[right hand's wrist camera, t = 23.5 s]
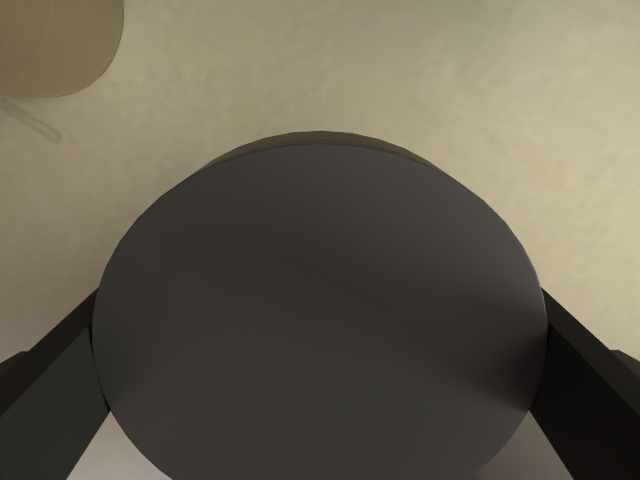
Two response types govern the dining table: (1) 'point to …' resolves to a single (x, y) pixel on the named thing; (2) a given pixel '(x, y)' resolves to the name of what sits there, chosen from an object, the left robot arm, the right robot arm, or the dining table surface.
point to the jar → (56, 45)
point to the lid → (319, 319)
